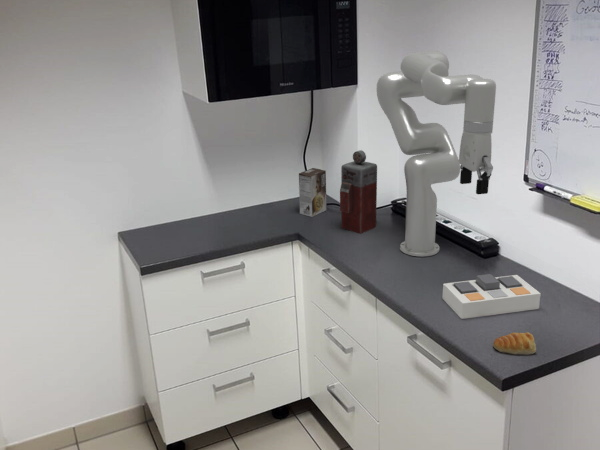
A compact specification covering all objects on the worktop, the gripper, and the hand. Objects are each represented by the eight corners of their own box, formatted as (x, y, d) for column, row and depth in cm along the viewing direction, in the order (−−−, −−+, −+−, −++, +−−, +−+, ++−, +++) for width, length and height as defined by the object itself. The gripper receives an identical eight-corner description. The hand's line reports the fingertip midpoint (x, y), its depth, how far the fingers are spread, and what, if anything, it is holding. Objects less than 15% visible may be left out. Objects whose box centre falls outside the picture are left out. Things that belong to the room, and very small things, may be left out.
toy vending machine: (336, 229, 229) (336, 152, 219) (357, 221, 236) (357, 146, 227) (356, 235, 223) (357, 156, 213) (376, 227, 231) (377, 150, 221)
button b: (475, 287, 177) (476, 275, 176) (489, 285, 178) (490, 273, 177) (484, 295, 173) (485, 283, 171) (498, 293, 173) (500, 281, 172)
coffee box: (313, 207, 252) (313, 167, 246) (327, 210, 248) (326, 170, 243) (299, 213, 246) (297, 172, 240) (312, 217, 242) (311, 175, 236)
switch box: (442, 298, 178) (443, 283, 176) (515, 289, 182) (517, 274, 180) (461, 319, 167) (462, 302, 165) (538, 308, 171) (540, 292, 169)
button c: (496, 289, 179) (497, 277, 178) (510, 287, 180) (511, 276, 179) (506, 297, 174) (507, 285, 173) (520, 296, 175) (521, 284, 174)
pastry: (498, 357, 150) (499, 343, 149) (488, 342, 156) (490, 328, 155) (538, 355, 150) (539, 341, 149) (527, 340, 157) (528, 326, 156)
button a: (453, 295, 177) (453, 283, 175) (467, 293, 177) (468, 281, 176) (461, 303, 172) (462, 291, 171) (476, 301, 173) (476, 289, 171)
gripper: (450, 121, 179) (447, 180, 185) (480, 134, 163) (475, 199, 169) (476, 119, 180) (471, 178, 186) (507, 132, 164) (501, 196, 170)
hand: (473, 188), depth 177 cm, fingers open, 9 cm apart
